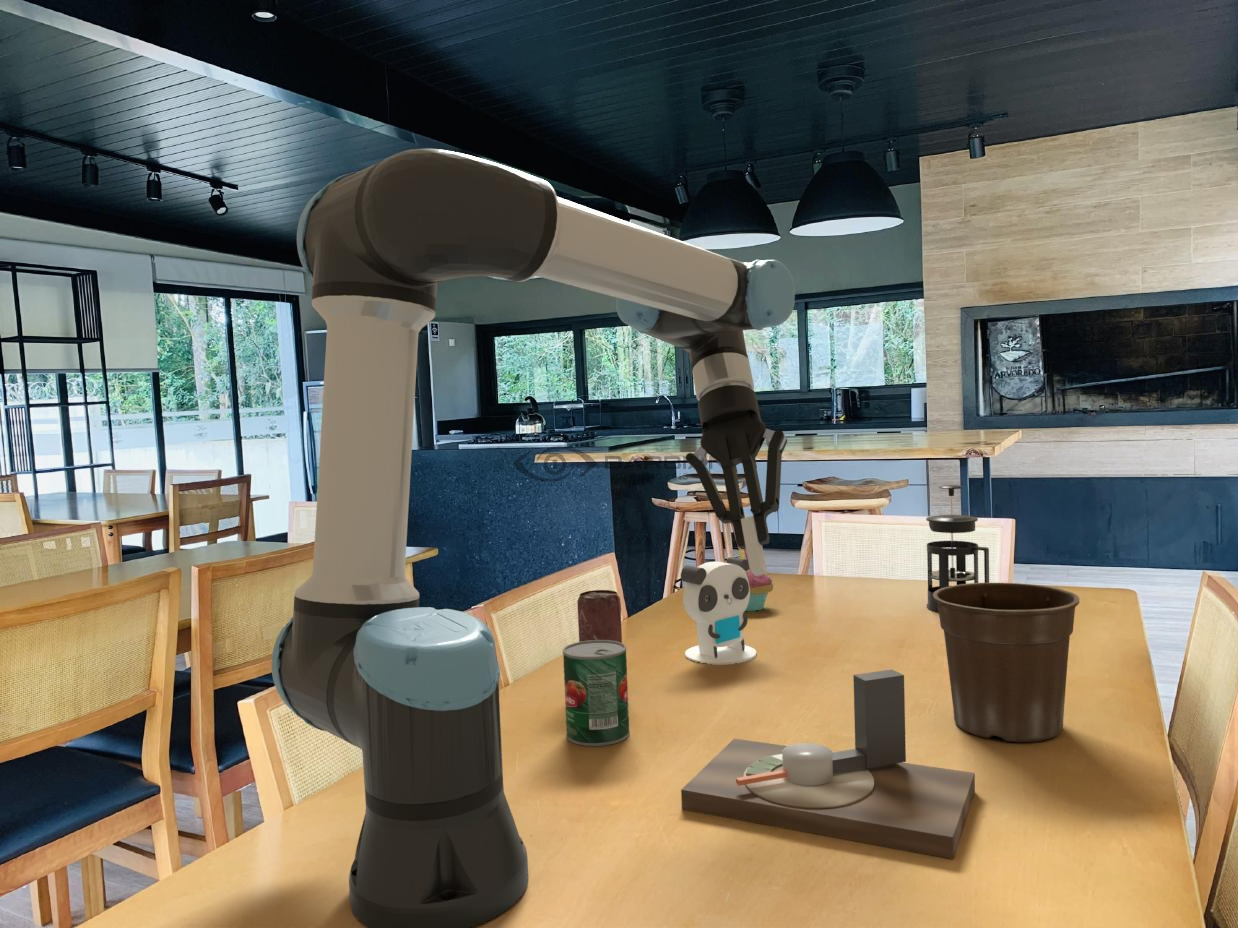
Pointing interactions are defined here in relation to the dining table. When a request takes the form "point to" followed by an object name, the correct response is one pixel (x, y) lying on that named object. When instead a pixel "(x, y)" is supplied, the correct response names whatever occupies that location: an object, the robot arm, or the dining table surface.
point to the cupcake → (757, 589)
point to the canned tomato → (596, 692)
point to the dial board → (839, 800)
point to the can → (599, 616)
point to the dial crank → (874, 736)
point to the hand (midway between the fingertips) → (758, 571)
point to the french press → (952, 551)
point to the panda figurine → (718, 610)
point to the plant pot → (1007, 657)
